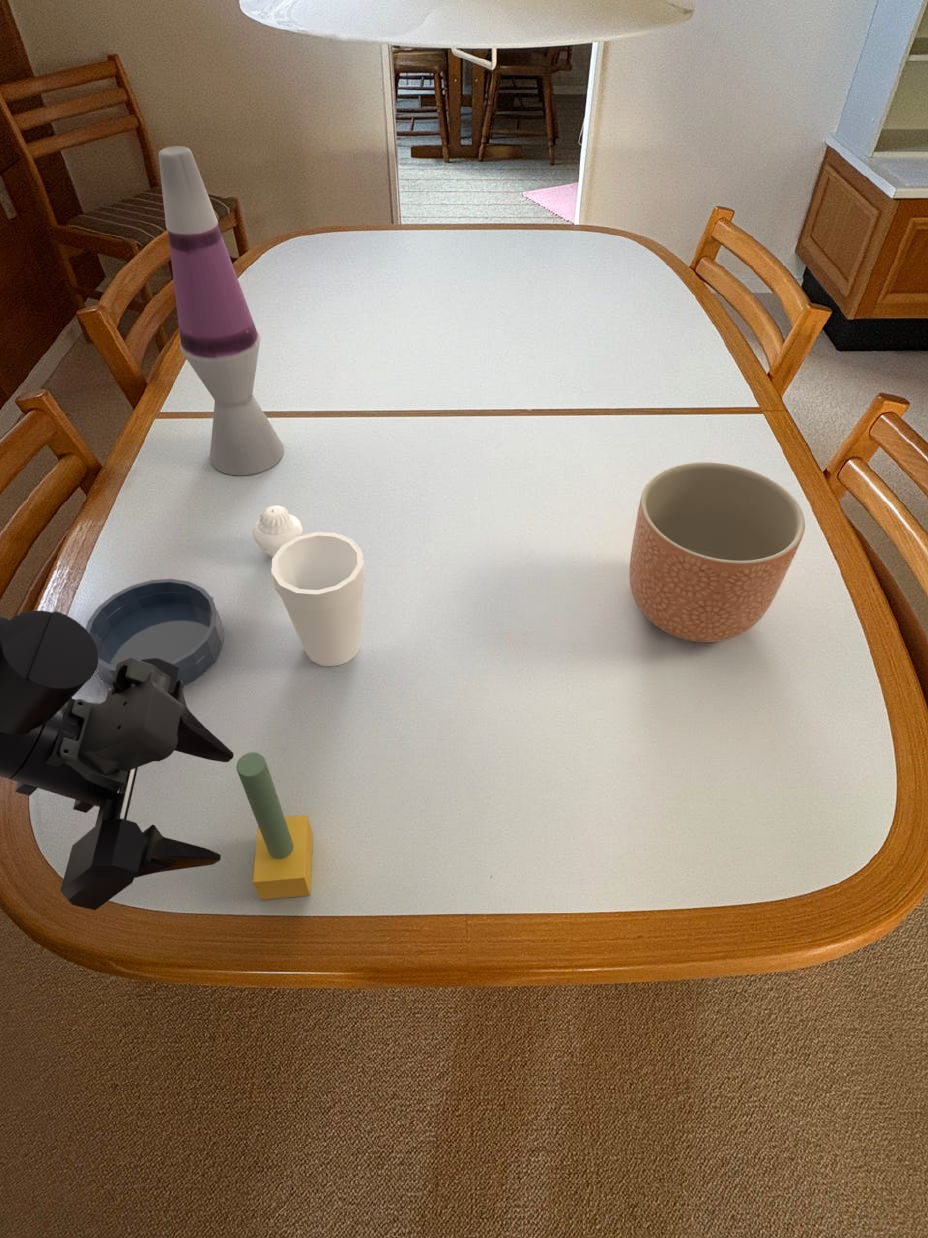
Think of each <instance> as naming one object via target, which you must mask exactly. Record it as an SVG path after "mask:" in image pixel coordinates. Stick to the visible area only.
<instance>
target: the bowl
mask: <svg viewBox="0 0 928 1238" xmlns="http://www.w3.org/2000/svg"><path fill="white" fill-rule="evenodd" d="M85 629H86V630H87V632H88V633H89V634H90V635H91V636H92V638H93V640H94V642H95V644H96V647H97V651H98V666H97V669H96V671H97V673H98V674H99V676H100V678H101V679H102V680H103V682H104V683H106V684H107V685H108V686H110V688H111V687H112V688H113V689H114V687H113V685H112V681H113V677H114V673H115V670H116V666H117V664H118V663H120V662H122V661H124V660H127V659H129V658H134V659H137V660H139V661H141V660H142V659H149V658H160V659H162V660H165V661H167V662H169V663H171V664H174V665H176V666H178V667H179V670H178V675H177V680H176V682H177V681H178V680H181V681H182V683H183V685H184V686H186V685H189V684H190V683H192V682H193V681H195V680H197V679H198V678H199V677H201V676H202V675H203V674H204V673H205V672H207V671H208V670H209V669H210V668H211V667H212V665H214V663H215V662H216V661H217V659H218V657H219V655H220V654H221V651H222V650H223V645H224V641H225V631H224V626H223V623H222V620H221V618H220V615H219V611H218V608H217V606H216V602H215V599H214V598H213V597H212V595H210V593H209V592H208V591H206V589H205V588H204V587H202V586H199V585H198V584H195V583H193V582H191V581H188V580H184V579H183V580H182V579H181V580H180V579H177V578H176V579H175V578H161V579H150V580H146V581H144V582H139V583H135V584H132V585H130V586H128V587H126V588H124V589H121V590H120V591H118V592H116V593H114V594H112V595H111V596H110V597H109V598H107V599H106V600H105V601H104V602H103V603H101V604H100V605H98V606H97V608H96V609H95V611H94V612H93V613H92V615H91V616H90V617H89V619H87V623H86V626H85Z"/></svg>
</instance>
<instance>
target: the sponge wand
mask: <svg viewBox="0 0 928 1238" xmlns="http://www.w3.org/2000/svg"><path fill="white" fill-rule="evenodd" d="M235 767H236V772H237V775H238V777H239V780H240V782H241V784H242V788H243V790H244V792H245V795H246V798H247V800H248V802H249V805H250V808H251V810H252V813H253V816H254V818H255V821H256V823H257V833H256V843H255V853H254V863H253V873H252V874H253V875H252V884H253V886H254V888H255V890H256V893H257V895H258V897H259V899H260V901H263V900H275V899H285V898H286V899H287V898H297V897H308V896H311V888H312V867H313V865H312V864H313V844H314V833H313V830H312V829H313V828H312V826H311V822H310V819H309V816H308V814H307V815H293V816H285V814H284V810H283V808H282V805H281V801H280V799H279V796H278V793H277V790H276V787H275V784H274V781H273V778H272V775H271V772H270V769H269V766H268V764H267V759H266V758H265V756H264V755H263V754H261V753H259V752H254V751H251V752H247V753H245V754H244V755H242V756H240V758H239V759H238V760H237V763H236V766H235Z"/></svg>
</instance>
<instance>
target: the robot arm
mask: <svg viewBox="0 0 928 1238" xmlns="http://www.w3.org/2000/svg"><path fill="white" fill-rule="evenodd" d="M97 666H98V651H97V647H96V644H95V642H94V640H93V638H92V636H91V635H90V634H89V633H88V632H87V630H86V627H84V626H83V625H82V624H81V623H79V622H78V621H77V620H76V619H74V618H72V617H70V616H69V615H67V614H66V613H65V614H64V613H62V612H59V611H56V610H55V611H47V610H30V611H29V610H28V611H24V612H21V613H18V614H17V615H14V616H13V617H12V618H8V617H6V616H4V615H1V614H0V777H1V778H5V779H8V780H11V781H13V782H17V784H16V788H15V790H14V792H16V793H19V794H22V795H25V796H28V797H30V796H31V795H32V794H34V792H35V791H36V790H38V789H40V790H43V791H47V792H50V793H51V794H56V795H59V796H62V797H66V798H68V799H72V800H74V803H73V807H72V810H75V811H79V812H81V813H84V814H86V813H87V814H88V812H89V811H90V810H92V808H94V807H98V808H99V809H98V812H97V816H96V820H95V825H94V827H92V828H91V829H90V830H89V831H87V833H86V834H85V835H83V836H81V838H80V839H78V840H76V842H75V843H74V844H72V846H71V850H70V854H69V857H68V861H67V864H66V869H65V872H64V876H63V880H62V883H61V887H60V890H59V891H60V893H61V894H62V895H63V896H64V898H66V900H67V901H68V902H69V903H70V904H71V905H72V906H75V907H80V908H83V909H89V910H92V911H97V910H98V909H99V908H100V907H102V906H103V905H105V904H106V903H107V902H109V901H110V900H111V899H113V898H114V897H116V896H117V895H118V894H119V893H121V892H122V891H123V890H125V889H126V888H128V887H129V886H130V885H132V884H133V882H134V881H135V879H137V878H140V877H145V876H149V875H153V874H158V873H164V872H170V871H178V870H184V869H192V868H199V867H205V866H212V865H213V866H214V865H215V864H216V863H218V862H220V860H221V857H222V855H221V854H220V853H218V852H216V851H213V850H211V849H209V848H206V847H204V846H203V847H202V846H198V845H195V844H191V843H188V842H184V841H180V840H176V839H173V838H169V837H165V836H164V835H162V833H161V832H160V830H159V829H158V828H157V827H156V825H154V824H151V825H149V827H148V828H146V829H145V830H143V831H142V829H141V828H140V826H139V825H138V823H137V822H135V821H132V820H129V819H127V818H128V815H129V809H130V806H131V802H132V801H131V800H132V796H133V792H134V787H135V783H136V778H137V773H138V769H139V768H140V767H143V766H145V765H148V764H150V763H154V762H161V761H164V760H166V759H167V758H169V757H170V756H171V755H172V754H173V753H174V752H178V753H183V754H187V755H190V756H192V757H193V756H194V757H197V758H201V759H204V760H207V761H213V762H219V763H220V762H221V763H229V762H230V761H231V760H233V759H234V755H235V754H234V752H233V751H232V750H231V749H230V748H229V747H228V746H227V745H226V744H224V743H223V742H222V741H221V740H220V739H219V738H218V737H217V736H216V735H214V733H213V732H211V731H210V730H209V729H208V727H206V726H205V725H204V724H203V723H202V722H201V721H199V719H198V718H197V717H196V716H195V715H194V713H192V712H191V710H189V708H188V706H187V701H186V698H185V694H184V687H185V685H183V683H182V681H181V680H178V681H177V682H176V680H177V675H178V670H179V667H178V666H176V665H174V664H171V663H169V662H167V661H165V660H162V659H160V658H149V659H142V660H141V661H139V660H137V659H134V658H129V659H127V660H124V661H122V662H120V663H118V664H117V666H116V670H115V673H114V677H113V681H112V685H113V687H114V688H113V687H112V688H110V689H108V691H107V696H106V699H105V700H104V701H102V702H101V703H98V702H91V701H87V700H85V699H82V698H77V699H75V698H73V697H74V696H75V695H76V694H77V693H78V692H79V691H80V690H81V688H83V687H84V686H85V684H86V683H88V682H89V681H90V679H92V677H93V676H94V674H95V672H96V671H97V670H96V669H97Z"/></svg>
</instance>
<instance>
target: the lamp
mask: <svg viewBox="0 0 928 1238" xmlns="http://www.w3.org/2000/svg"><path fill="white" fill-rule="evenodd" d="M193 154H194V153H193V152H192V150H191V149H190V148H189V147H187V146H181V145H173V146H167V147H165V148H162V149H161V150H159V152H158V164H159V173H160V182H161V191H162V201H163V202H162V203H163V211H164V220H165V228H166V231H167V237H168V244H169V253H170V261H171V270H172V277H173V279H172V280H173V289H174V298H175V304H176V305H175V306H176V313H177V323H178V330H179V331H178V332H179V339H180V344H179V350H180V352H181V353H182V355H183V356H184V358H185V359H186V361H187V362H188V364H189V365H190V366H191V368H192V369H193V371H194V372H195V374H196V376H197V377H198V378H199V380H200V381H201V382H202V384H203V385H204V387H205V388H206V390H207V391H208V393H209V394H210V396H211V397H212V398H213V401H214V405H213V406H214V407H213V417H212V426H211V428H212V429H211V439H210V449H209V450H210V451H209V461H210V464H211V465H212V466H213V468H214V469H216V470H217V471H218V472H221V473H224V474H225V475H231V476H238V477H239V476H240V477H241V476H251V475H256V474H261V473H263V472H266V471H268V470H269V469H272V468H273V467H274V466H276V465H277V464H278V463H279V462H280V461H281V459H282V458H283V455H284V452H285V447H284V444H283V442H282V440H281V439H280V437H279V436H278V434H277V432H276V431H275V429H274V427H273V426H272V424H271V423H270V421H269V419H268V417H267V416H266V414H265V413H264V411H263V409H262V408H261V406H260V405H259V403H258V400H257V399H256V397H255V396H254V395H253V393H254V386H255V379H256V371H257V366H258V359H259V358H258V357H259V351H260V343H261V336H260V333H259V332H258V330H257V327H256V325H255V322H254V320H253V316H252V314H251V311H250V308H249V305H248V303H247V300H246V298H245V295H244V292H243V289H242V287H241V284H240V281H239V278H238V276H237V273H236V271H235V267H234V265H233V262H232V259H231V257H230V254H229V251H228V248H227V246H226V243H225V241H224V238H223V235H222V232H221V230H220V227H219V220H218V218H217V216H216V213H215V210H214V208H213V204H212V202H211V200H210V197H209V194H208V191H207V189H206V186H205V183H204V181H203V178H202V175H201V173H200V170H199V168H198V165H197V162H196V160H195V157H194V155H193Z"/></svg>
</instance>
